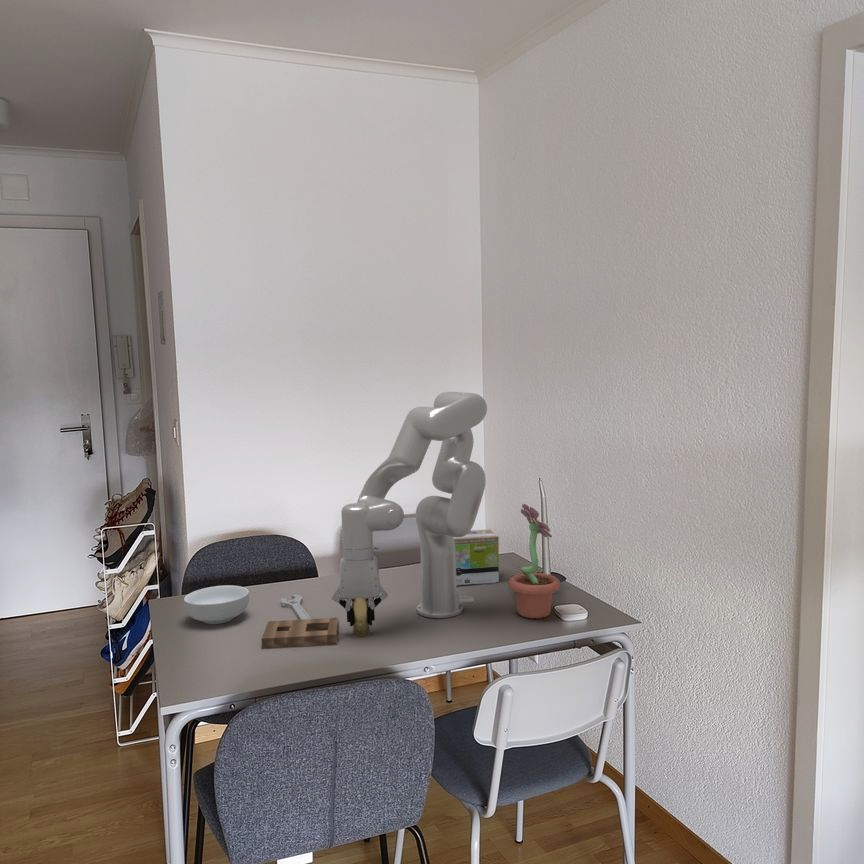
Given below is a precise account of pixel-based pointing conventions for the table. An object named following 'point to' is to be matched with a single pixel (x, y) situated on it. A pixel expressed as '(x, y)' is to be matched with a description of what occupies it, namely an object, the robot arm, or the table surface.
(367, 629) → the brass peg
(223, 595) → the cereal bowl
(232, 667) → the table surface
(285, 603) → the adjustable wrench
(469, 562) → the tea box
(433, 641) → the table surface
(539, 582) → the decorative flower
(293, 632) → the socket board
